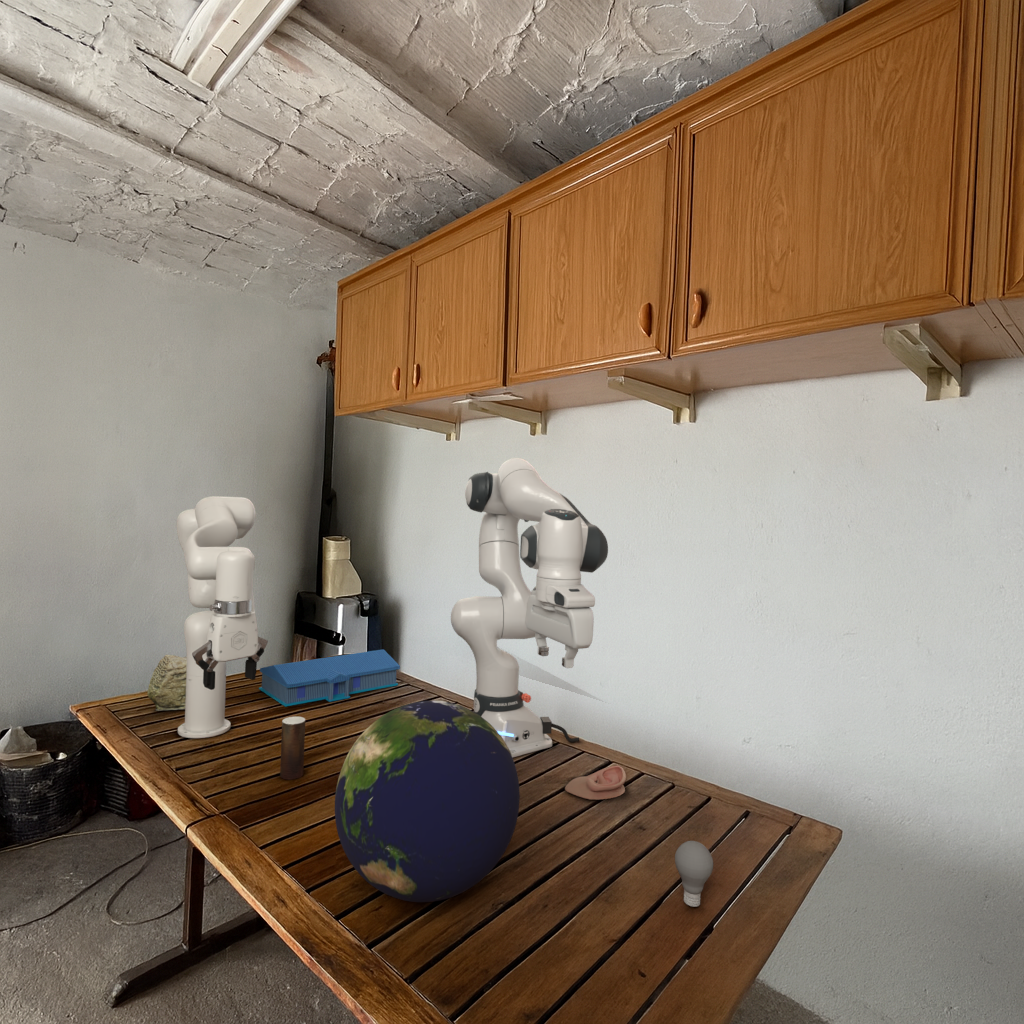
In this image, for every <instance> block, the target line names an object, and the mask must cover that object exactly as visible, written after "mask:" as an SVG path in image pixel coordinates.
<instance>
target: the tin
mask: <svg viewBox="0 0 1024 1024" xmlns="http://www.w3.org/2000/svg"><path fill="white" fill-rule="evenodd" d="M305 737H306V718H305V717H303V716H289V717H285V718H283V719H282V720H281V742H280V744H281V745H280V767H279V768H280V770H279V777H280V778H281V779H282V780H287V781H289V780H296V779H299V778H301V777H303V775H304V769H305V768H304V766H305V765H304V764H305V741H306V740H305Z"/></svg>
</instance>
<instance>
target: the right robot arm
mask: <svg viewBox="0 0 1024 1024" xmlns="http://www.w3.org/2000/svg"><path fill="white" fill-rule="evenodd" d="M464 497H465V501H466V506H467V507H468V508H469V509H470V511H473V512H477V513H484V514H483V516H482V518H481V522H480V527H479V535H478V536H479V537H478V573H479V576H480V578H481V579H483V581H484V582H485V583H487V584H489V585H491V586H493V587H495V588H496V589H497V590H498V591H499V592H500V596H486V595H485V596H484V595H483V596H482V595H477V596H469V597H464V598H459V599H458V600H457V601H456V602H455V604H454V605H453V607H452V610H451V612H450V623H451V626H452V629H453V631H454V632H455V633H456V635H457V636H458V637H459V638H461V639H462V640H464V642H465V643H466V644H467V645H468V647H469V648H470V650H471V652H472V654H473V657H474V661H475V671H476V672H475V673H476V674H475V675H476V686H475V689H474V693H473V712H475V713H476V714H478V715H480V716H481V717H482V718H484V719H485V720H486V721H487V722H489V723H490V724H491V725H492V726H493V727H494V729H495V730H496V731H497V732H498V733H499V734H500V736H501V737H502V738H503V740H504V741H505V743H506V745H507V747H508V748H509V750H510V752H511V755H512V758H513V759H514V758H516V757H519V756H523V755H527V754H530V753H534V752H538V751H541V750H545V749H548V748H552V747H553V740H552V738H551V736H550V735H551V734H552V728H554V729H557V730H558V731H560V732H562V734H563V736H564V739H565V740H566V741H568V742H569V743H576V742H580V737H573V738H571V737H570V736H569V734H568V731H567V730H566V729H565V728H564V727H562V726H561V725H558V724H555V723H553V722H552V720H551V719H550V717H549V716H540V717H539V715H537V714H536V713H535V712H534V711H532V710H531V709H530V708H529V707H528V706H526V705H525V704H524V703H527V704H528V703H530V702H531V701H532V696H531V695H530V694H528V693H526V692H525V693H524V692H523V691H521V690H519V680H520V679H519V678H520V664H519V661H518V660H517V658H516V657H515V656H514V655H512V654H511V653H510V652H508V651H505V650H503V649H502V648H500V647H499V646H498V641H499V640H527V639H533V638H535V642H536V645H537V655H538V656H541V657H548V656H549V651H550V647H549V646H548V644H547V638H548V639H550V640H553V641H555V642H557V643H560V644H562V645H564V650H565V655H564V657H563V656H562V657H561V666H562V667H563V668H565V669H573V668H574V665H575V658H576V657H577V654H578V652H579V650H583V649H588V648H590V646H592V645H591V644H592V642H593V636H594V623H595V622H594V612H593V610H592V608H594V607H595V605H596V597H595V596H594V595H593V593H591V592H590V591H589V590H588V589H587V588H586V587H585V586H584V584H582V572H583V573H590V574H593V573H594V572H595V571H597V570H598V569H599V568H600V567H601V566H603V565H604V563H605V562H606V561H607V558H608V554H609V545H608V540H607V537H606V535H605V533H604V532H603V531H602V530H601V529H600V528H599V526H597V525H595V524H592V522H590V521H589V520H588V519H587V518H586V516H584V515H583V514H582V512H581V511H580V510H579V509H578V508H577V507H576V505H574V503H573V502H572V501H571V500H570V498H567V497H566V496H565V495H563V494H562V493H560V492H558V491H557V490H555V489H554V488H552V487H551V486H550V485H548V484H547V482H545V481H544V480H543V479H542V477H541V475H540V473H539V472H538V471H537V469H536V468H535V467H534V466H533V465H532V464H531V463H530V462H529V461H528V460H526V459H523V458H521V457H511V458H509V459H507V460H505V461H504V462H503V463H501V465H500V467H499V468H498V471H497V473H496V472H495V473H494V472H489V471H485V472H478V473H474V474H473V475H472V476H470V477H469V478H468V480H467V483H466V485H465V489H464ZM520 520H523V521H524V523H529V522H537V523H536V524H534V525H532V524H531V525H529V526H528V527H527V528H526V529H525V530H524V531H523V532H522V534H520V539H519V528H518V527H519V522H520ZM521 561H522V562H523V563H524V564H525V565H526V566H527V567H528V568H530V569H534V570H537V572H536V577H535V578H536V580H535V586H534V588H532V590H530V589H529V587H528V585H527V584H526V582H525V580H524V577H523V574H522V568H521ZM549 734H550V735H549Z"/></svg>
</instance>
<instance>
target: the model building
mask: <svg viewBox="0 0 1024 1024" xmlns="http://www.w3.org/2000/svg"><path fill="white" fill-rule="evenodd" d="M400 669H401V665H400V664H399V663H398V662H397V661H396V660H395V659H394V658H393V657H392V656H391V654H389V653H388V652H387V651H386V650H385V649H376V650H368V651H363V652H356V653H349V654H342V655H341V654H340V655H335V656H329V657H328V656H327V657H321V658H315V659H314V658H313V659H307V660H300V661H293V662H287V663H278V664H272V665H268V666H264V667H263V666H262V667H260V668H259V672H260V673H261V686H260V687H258V690H260V691H261V692H262V693H264V694H265V695H267V696H268V697H270V698H271V699H273V700H274V701H276V702H277V703H279V704H280V705H282V706H283V707H290V706H297V705H302V704H307V703H312V702H317V701H323V700H325V701H327V702H329V703H330V702H335V701H341V700H346V699H347V700H348V699H350V698H351V695H353V694H359V693H364V692H365V693H366V692H369V691H373V690H381V689H385V688H390V687H391V688H392V687H395V686H399V683H398V682H397V670H400Z"/></svg>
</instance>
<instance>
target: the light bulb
mask: <svg viewBox="0 0 1024 1024" xmlns="http://www.w3.org/2000/svg"><path fill="white" fill-rule="evenodd" d="M674 865H675V868H676V871H677V872H678V874H679V877H680V878H681V884H682V888H683V903H685V904H686V905H687V906H690V907H699V906H700V905H701V895H702V892H703V890H704V885H705V884H706V882H707V881H708V879H709V878H710V877H711V875H712V873H713V869H714V859H713V856H712V853H711V852H710V851H709V849H708V848H707V847H706V846H705V845H704V844H703V843H701V842H699V841H697V840H687V841H685V842H683V843H681V844H680V845H679V846H678V848H677V849H676V851H675V854H674Z"/></svg>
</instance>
